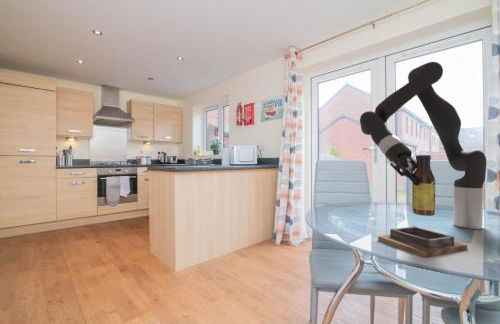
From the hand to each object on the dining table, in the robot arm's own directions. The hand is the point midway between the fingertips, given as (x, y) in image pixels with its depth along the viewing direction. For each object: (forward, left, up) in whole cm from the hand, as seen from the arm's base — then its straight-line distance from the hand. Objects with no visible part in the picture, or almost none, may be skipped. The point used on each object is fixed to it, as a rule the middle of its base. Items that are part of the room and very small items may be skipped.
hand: (426, 183), depth 78 cm
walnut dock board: (0, -2, -21) cm, 21 cm away
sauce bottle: (0, -1, -11) cm, 11 cm away
